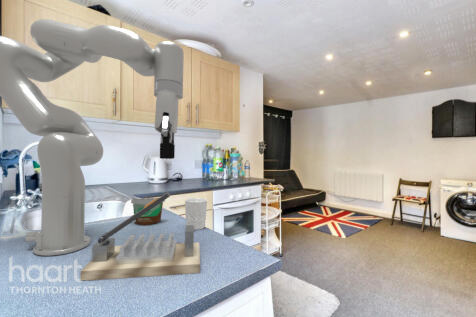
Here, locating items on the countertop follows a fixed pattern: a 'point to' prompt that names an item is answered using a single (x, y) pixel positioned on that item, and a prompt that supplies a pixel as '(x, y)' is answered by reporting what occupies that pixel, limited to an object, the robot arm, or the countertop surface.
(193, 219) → the white cup
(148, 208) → the strap
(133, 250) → the heat sink
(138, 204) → the food container
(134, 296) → the countertop surface
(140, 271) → the board
